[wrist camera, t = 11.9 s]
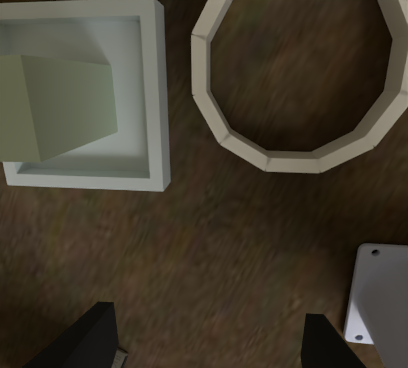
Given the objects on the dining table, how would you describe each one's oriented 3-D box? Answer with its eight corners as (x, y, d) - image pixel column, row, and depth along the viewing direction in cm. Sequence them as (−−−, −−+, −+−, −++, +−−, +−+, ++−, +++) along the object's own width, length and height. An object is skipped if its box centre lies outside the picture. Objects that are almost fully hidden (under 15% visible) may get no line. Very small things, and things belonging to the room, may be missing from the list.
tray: (163, 6, 18) (154, -3, 16) (170, 181, 21) (163, 191, 19) (-4, 11, 19) (-32, 4, 17) (27, 176, 22) (7, 185, 20)
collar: (426, -60, 15) (452, -80, 13) (384, 166, 19) (399, 175, 17) (196, -47, 17) (189, -64, 15) (197, 161, 20) (192, 169, 18)
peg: (111, 65, 19) (20, 54, 11) (118, 131, 20) (40, 162, 12) (50, 67, 19) (-78, 57, 12) (60, 131, 20) (-48, 161, 13)
